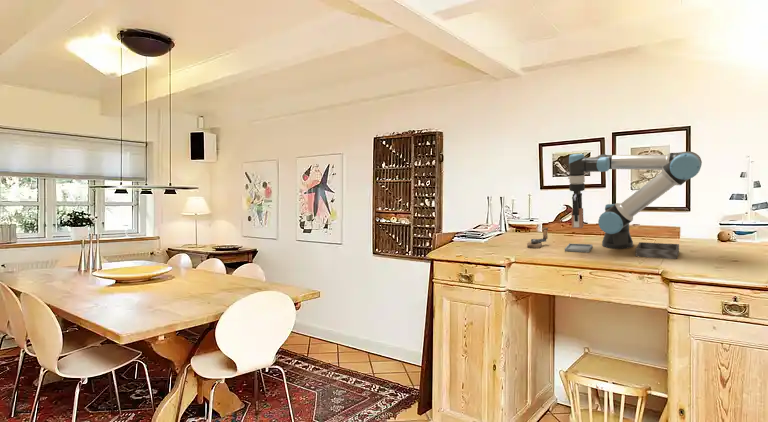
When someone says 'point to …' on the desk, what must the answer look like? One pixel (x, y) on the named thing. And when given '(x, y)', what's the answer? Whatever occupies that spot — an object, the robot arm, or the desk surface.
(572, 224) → the post
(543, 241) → the crank
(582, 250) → the tray
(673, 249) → the bin
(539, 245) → the crank base
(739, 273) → the desk surface
